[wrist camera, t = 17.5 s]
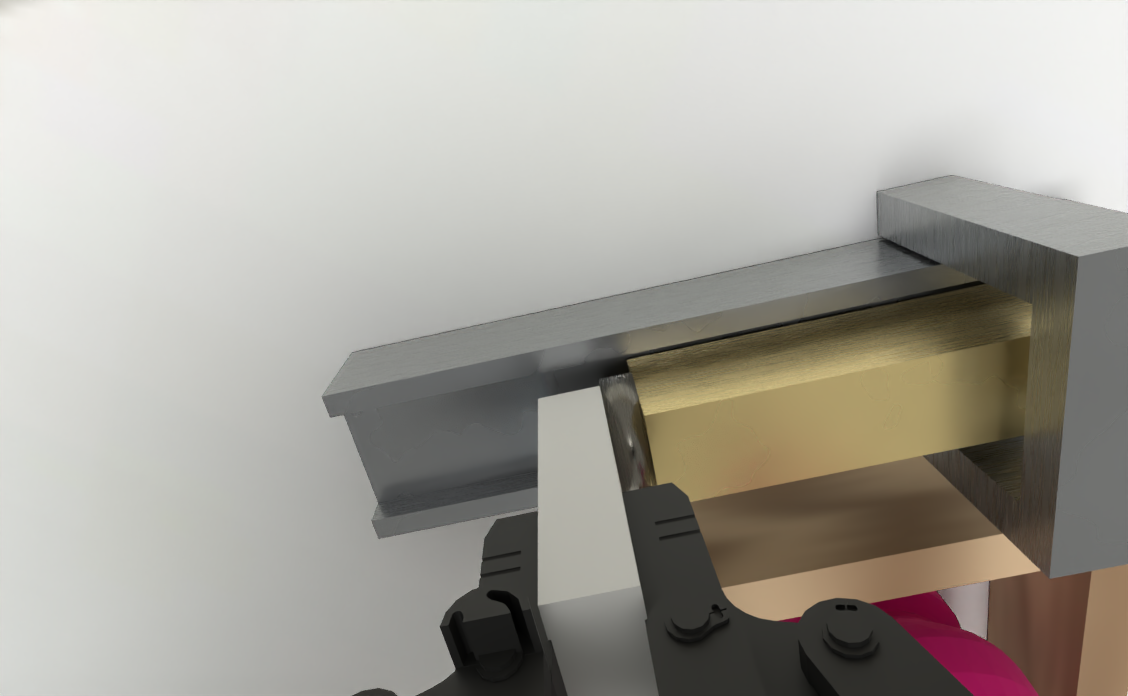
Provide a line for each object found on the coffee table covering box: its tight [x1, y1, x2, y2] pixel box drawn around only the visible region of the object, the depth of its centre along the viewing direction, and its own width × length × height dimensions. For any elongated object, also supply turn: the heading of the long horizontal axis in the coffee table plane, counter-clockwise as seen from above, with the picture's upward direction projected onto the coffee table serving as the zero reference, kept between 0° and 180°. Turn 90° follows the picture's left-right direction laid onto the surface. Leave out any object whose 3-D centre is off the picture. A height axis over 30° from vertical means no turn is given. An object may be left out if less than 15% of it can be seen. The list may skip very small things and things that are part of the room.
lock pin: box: [598, 284, 1032, 502], centre depth 15 cm, size 11×3×3 cm, turn 102°
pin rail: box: [322, 175, 1128, 579], centre depth 16 cm, size 20×7×7 cm, turn 102°
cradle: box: [690, 456, 1128, 696], centre depth 21 cm, size 13×13×4 cm
